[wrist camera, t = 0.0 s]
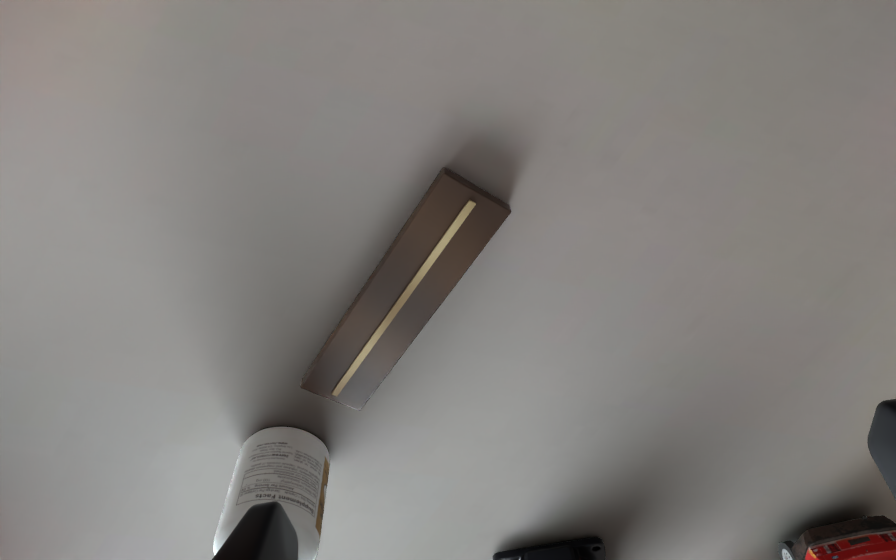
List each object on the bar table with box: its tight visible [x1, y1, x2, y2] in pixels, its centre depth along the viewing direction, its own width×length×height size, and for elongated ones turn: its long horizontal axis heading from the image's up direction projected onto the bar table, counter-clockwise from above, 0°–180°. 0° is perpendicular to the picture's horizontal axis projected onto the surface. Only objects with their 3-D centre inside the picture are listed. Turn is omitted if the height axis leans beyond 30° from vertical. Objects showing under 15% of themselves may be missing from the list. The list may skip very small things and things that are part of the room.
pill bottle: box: [213, 427, 330, 560], centre depth 27 cm, size 4×4×8 cm
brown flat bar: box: [300, 167, 511, 411], centre depth 25 cm, size 12×3×1 cm, turn 147°
